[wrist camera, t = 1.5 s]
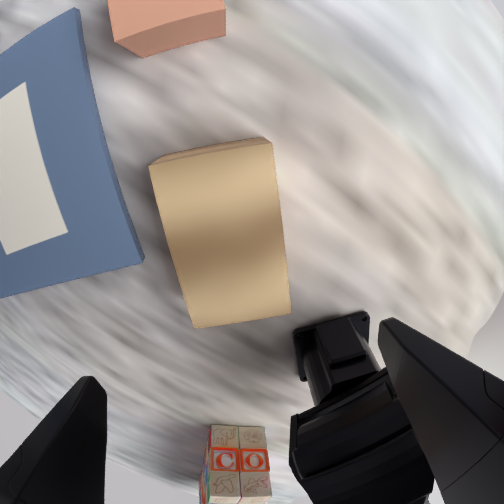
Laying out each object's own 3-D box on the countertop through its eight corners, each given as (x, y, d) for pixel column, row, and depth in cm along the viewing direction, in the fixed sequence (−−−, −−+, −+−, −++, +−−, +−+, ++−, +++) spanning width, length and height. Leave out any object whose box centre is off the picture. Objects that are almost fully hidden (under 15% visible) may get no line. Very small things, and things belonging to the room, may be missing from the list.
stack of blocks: (209, 422, 29) (210, 522, 18) (265, 424, 30) (278, 521, 19) (198, 481, 38) (199, 543, 27) (236, 483, 39) (241, 544, 28)
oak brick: (281, 279, 22) (291, 313, 18) (198, 292, 22) (194, 328, 18) (262, 136, 17) (272, 142, 14) (164, 154, 17) (148, 166, 13)
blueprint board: (144, 257, 20) (141, 263, 19) (1, 294, 20) (-3, 299, 19) (79, 10, 12) (73, 6, 11) (-58, 114, 12) (-65, 115, 11)
